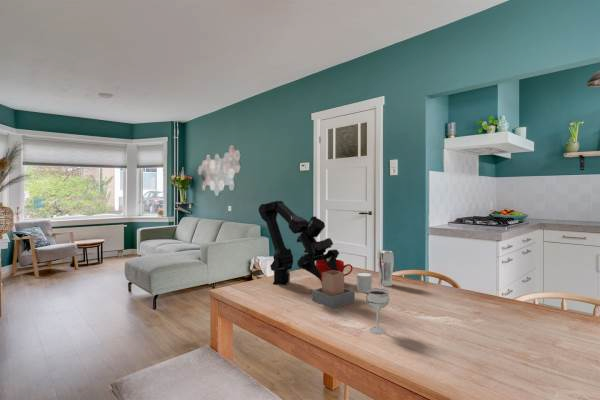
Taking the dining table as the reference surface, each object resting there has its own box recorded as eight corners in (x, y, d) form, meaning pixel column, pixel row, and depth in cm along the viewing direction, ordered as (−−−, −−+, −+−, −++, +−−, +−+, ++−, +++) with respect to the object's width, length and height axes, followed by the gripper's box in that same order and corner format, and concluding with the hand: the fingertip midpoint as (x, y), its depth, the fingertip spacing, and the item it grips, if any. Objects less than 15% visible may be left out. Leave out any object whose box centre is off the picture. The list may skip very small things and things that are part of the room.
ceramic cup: (354, 287, 146) (354, 265, 145) (315, 287, 146) (315, 265, 146) (350, 279, 159) (350, 258, 158) (315, 279, 159) (315, 259, 159)
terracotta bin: (322, 298, 129) (322, 272, 128) (333, 294, 132) (332, 270, 132) (333, 302, 124) (333, 275, 124) (344, 298, 128) (344, 272, 128)
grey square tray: (312, 300, 129) (311, 290, 129) (333, 294, 136) (333, 284, 136) (333, 308, 120) (333, 297, 120) (354, 301, 128) (354, 291, 127)
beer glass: (374, 283, 151) (374, 251, 151) (386, 281, 154) (386, 249, 154) (384, 287, 145) (384, 253, 145) (397, 285, 148) (397, 252, 148)
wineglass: (381, 337, 96) (381, 296, 96) (362, 330, 101) (361, 291, 101) (393, 330, 101) (393, 291, 101) (373, 324, 106) (373, 286, 105)
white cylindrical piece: (373, 293, 138) (373, 276, 138) (357, 293, 138) (357, 276, 138) (370, 288, 145) (370, 272, 144) (355, 288, 145) (354, 272, 145)
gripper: (302, 234, 127) (321, 267, 119) (336, 230, 139) (356, 260, 131) (289, 251, 134) (307, 284, 126) (323, 246, 146) (341, 276, 137)
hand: (329, 275), depth 130 cm, fingers open, 9 cm apart
